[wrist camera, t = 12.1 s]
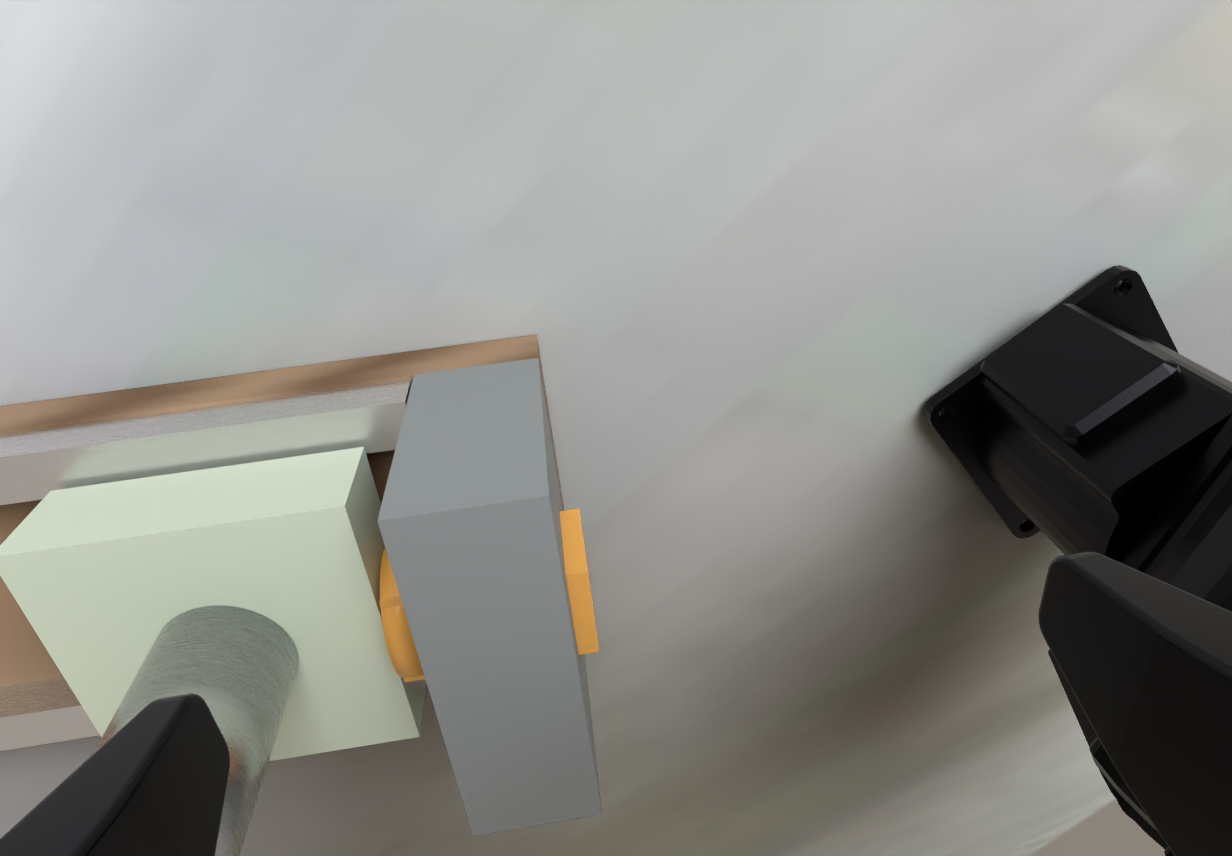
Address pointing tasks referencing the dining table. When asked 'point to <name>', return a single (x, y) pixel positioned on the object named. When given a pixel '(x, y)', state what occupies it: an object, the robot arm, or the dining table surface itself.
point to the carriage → (222, 608)
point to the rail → (410, 527)
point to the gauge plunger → (578, 588)
